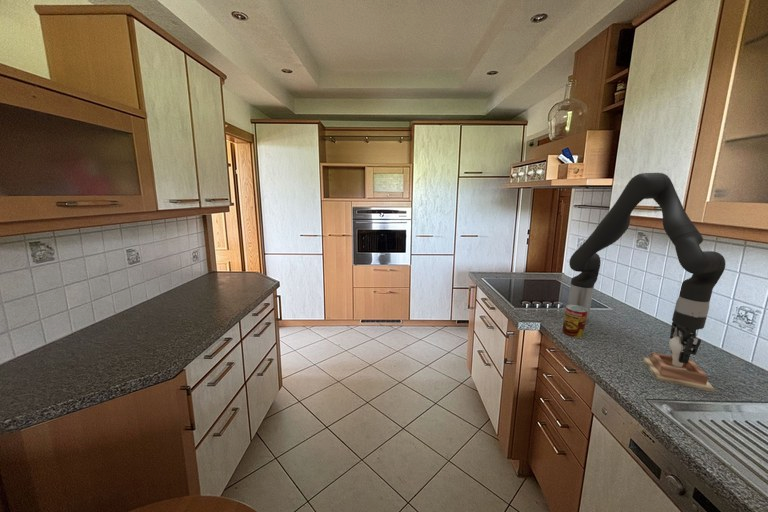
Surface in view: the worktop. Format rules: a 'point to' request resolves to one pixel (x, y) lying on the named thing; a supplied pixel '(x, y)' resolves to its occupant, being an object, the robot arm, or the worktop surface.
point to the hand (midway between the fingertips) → (678, 357)
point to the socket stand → (677, 372)
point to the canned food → (574, 321)
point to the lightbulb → (675, 351)
